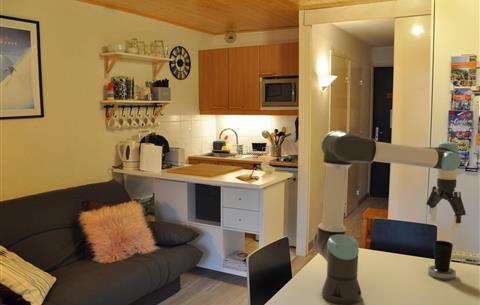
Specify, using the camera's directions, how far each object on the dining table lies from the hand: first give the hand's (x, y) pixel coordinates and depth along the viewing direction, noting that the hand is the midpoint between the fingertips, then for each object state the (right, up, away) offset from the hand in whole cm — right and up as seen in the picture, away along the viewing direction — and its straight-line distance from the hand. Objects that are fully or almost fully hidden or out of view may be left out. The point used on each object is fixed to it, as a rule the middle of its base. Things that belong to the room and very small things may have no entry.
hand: (444, 226), depth 187 cm
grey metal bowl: (0, -22, +3) cm, 23 cm away
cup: (0, -20, +2) cm, 20 cm away
